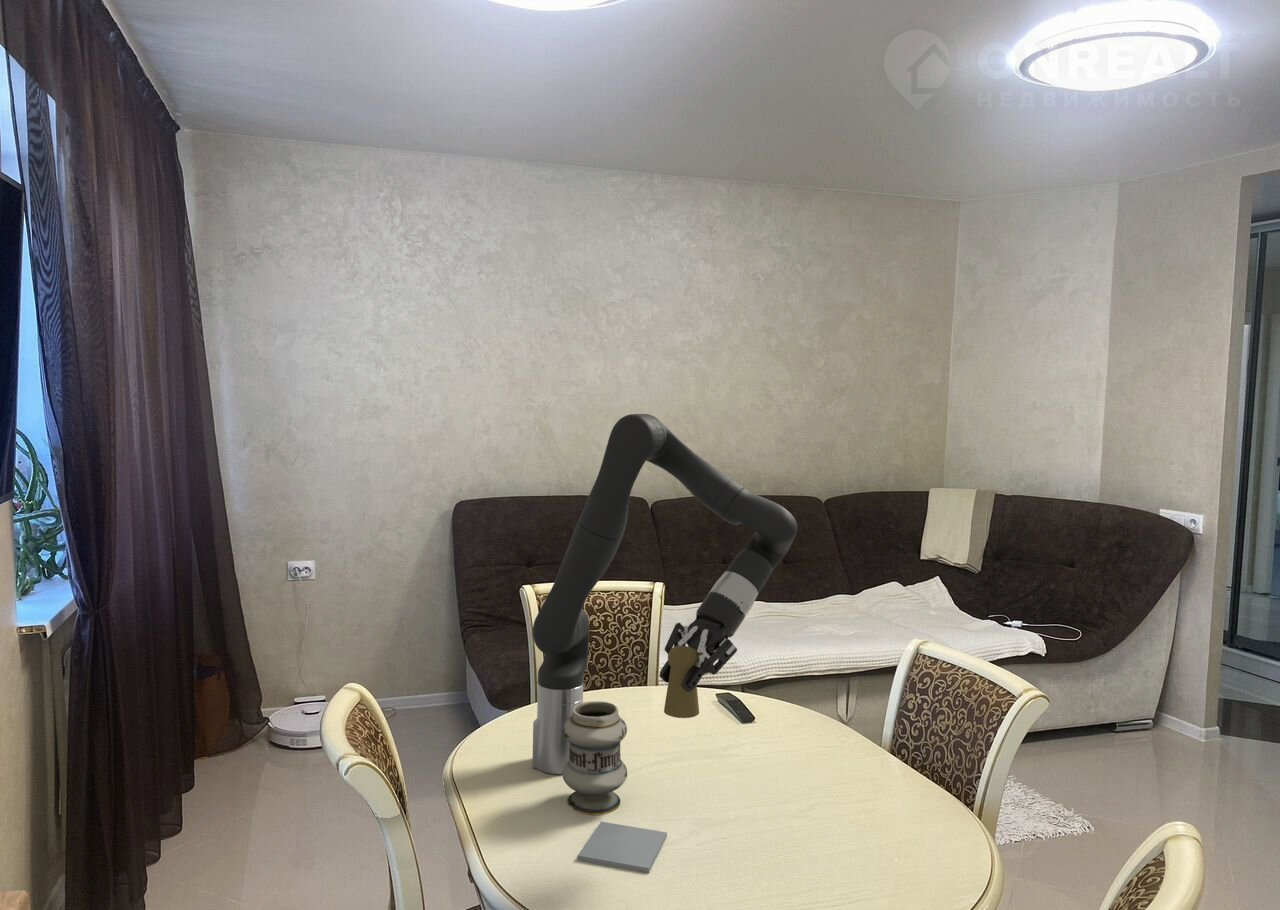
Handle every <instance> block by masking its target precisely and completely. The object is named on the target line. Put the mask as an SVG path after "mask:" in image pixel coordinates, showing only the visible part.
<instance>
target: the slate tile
mask: <svg viewBox="0 0 1280 910" xmlns="http://www.w3.org/2000/svg"><path fill="white" fill-rule="evenodd" d="M667 837H668V832H666V831H660V830H653V829H650V828H649V829H648V828H642V827H637V826H631V825H624V824H620V823H613V822H607V821H600V822H599V824H598V825H597V827H596V828H595V829H594V831H593V833H592V834H591V835H590V837H589V839H588V840H587V842H586V843H585V844H584V846H583V847H582V849H581V850H580V851H579V853H578V855H577V861H580V862H585V861H586V863H590V864H598V865H602V866H608V867H614V868H619V869H623V870H624V869H625V870H629V871H636V872H641V873H647V874H649V873H650V872H651V870H652V868H653V866H654V864H655V861H656V860H657V858H658V855H659V854H660V851H661V850H662V848H663V846H664V844H665V842H666V840H667Z"/></svg>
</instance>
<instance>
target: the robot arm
mask: <svg viewBox="0 0 1280 910" xmlns="http://www.w3.org/2000/svg"><path fill="white" fill-rule="evenodd" d="M607 440H608V441H607V444H606V447H605V451H604V454H603V459H602V462H601V466H600V468H599V472H598V474H597V477H596V480H595V481H594V484H593V486H592V488H591V489H590V493H589V495H588V498H587V500H586V501H585V502H586V503H585V505H584V507H583V509H582V512H581V514H580V516H579V518H578V521H577V523H576V526H575V528H574V531H573V533H572V535H571V539H570V541H569V544H568V546H567V548H566V551H565V553H564V557H563V559H562V562H561V564H560V567H559V570H558V573H557V575H556V577H555V580H554V583H553V585H552V587H551V589H550V590H549V593H548V595H547V596H546V598H545V600H544V602H543V604H542V606H541V608H540V609H539V611H538V613H537V615H536V617H535V618H534V621H533V625H532V639H533V641H534V642H533V643H534V644H535V646H536V647H537V649H538V650H539V651H540V652H542V653H543V654H545V656H544V660H543V661H542V663H541V665H540V666H539V668H538V671H537V704H536V705H537V708H536V709H537V710H536V719H534V721H532V723H533V724H532V762H531V763H532V764H531V765H532V768H535V769H537V770H539V771H540V772H543V773H547V774H550V775H551V774H552V775H562V771H563V768H564V765H565V764H566V763H567V761H568V760H569V741H568V740H567V739H566V737H565V735H564V732H563V727H564V724H565V723H566V721H567V720H568V719H569V718H570V717H571V716H572V712H573V708H574V707H575V706H576V705H578V704H580V703H583V702H584V676H585V673H586V670H587V666H588V659H589V645H590V644H589V642H590V623H589V618H588V615H587V613H586V611H585V609H584V608H583V607H584V606H585V603H586V600H587V599H588V596H589V595H590V593H591V592H592V590H593V589H594V588H595V586H596V585H597V583H598V582H599V580H601V578H602V576H603V575H604V574H605V572H606V571H607V569H608V567H609V566H611V565H610V564H611V563H612V561H613V559H614V557H615V555H616V553H617V551H618V549H619V546H620V544H621V542H622V539H623V537H624V534H625V531H626V529H627V528H626V527H627V523H628V515H629V503H630V496H631V492H632V489H633V487H634V485H635V482H636V480H637V478H638V476H639V474H640V471H641V470H642V469H643V466H644V464H645V463H646V462H648V463H651V464H653V465H654V466H657V467H659V468H660V469H662V470H664V471H666V472H667V473H668V474H670V475H672V476H673V477H674V478H675V479H676V480H678V481H679V482H680V483H681V484H682V485H683V486H684V487H685V488H686V489H687V490H688V491H689V492H690V494H691V495H692V496H693V497H694V498H695V499H696V500H698V501H699V502H700V503H701V504H702V505H703V506H705V507H706V508H707V509H708V510H710V511H711V512H713V513H714V514H716V515H717V516H718V517H720V518H721V519H723V520H724V521H725V522H727V523H728V524H730V525H732V526H739V525H741V524H742V525H744V526H745V527H747V528H749V529H750V530H752V531H754V532H753V534H752V536H751V538H750V539H749V540H748V543H746V545H745V547H744V548H743V549H742V550H740V552H738V553H737V554H736V556H735V557H734V558H733V559H732V561H731V563H729V566H728V567H727V568H726V570H725V571H724V573H723V574H721V576H720V577H719V578H718V580H717V581H715V583H714V585H713V586H712V588H711V590H710V591H709V592H708V593H707V595H706V596H705V598H704V599H703V601H702V602H701V604H700V606H698V608H697V609H696V616H695V619H694V621H692V622H691V623H690V624H689V625H683V624H682V623H681V622H677V623H675V625H674V627H673V628H672V632H671V633H670V635H669V638H668V639H667V643H666V645H665V647H664V651H665V653H667V655H668V653H669V651H670V649H672V648H673V647H676V646H688V647H692V648H694V649H695V650H696V651H697V655H698V656H697V660H696V662H695V667H693V666H692V668H691V669H690V671H689V672H688V674H687V675H686V677H685V678H684V680H683V681H682V683H681V686H682V687H683V688H684V689H685V690H686V691H688V692H691V690H693V689H694V688H695V687H696V685H698V684H699V682H700V681H701V679H702V677H703V676H705V675H707V674H711V675H713V676H714V675H716V674H717V673H718V672H719V671H720V670H721V669H722V668H724V666H725V664H727V663H728V661H730V660H731V659H732V657H733V656H734V655H735V654H736V653H737V651H738V648H737V647H736V646H735V644H734V643H733V642H732V641H731V640H730V639H729V638H732V637H734V635H735V633H736V632H737V630H738V629H739V628H740V625H741V624H742V623H743V621H744V620H745V618H746V617H747V615H748V613H749V612H750V610H751V609H752V607H753V606H754V604H755V601H756V599H757V597H758V595H759V594H760V593H761V591H762V590H763V588H764V586H765V585H766V583H767V581H768V580H769V578H770V576H771V574H772V572H773V571H774V570H775V569H776V567H777V566H778V565H779V564H780V563H781V561H782V560H783V559H784V558H785V556H786V554H787V553H788V552H789V550H790V548H791V546H792V544H793V542H794V539H795V538H796V535H797V533H798V532H797V531H798V523H797V521H796V518H795V517H794V516H793V515H792V513H791V512H790V511H788V510H787V509H786V508H785V507H783V506H782V505H780V504H778V503H777V502H774V501H772V500H769V499H767V498H766V497H763V496H761V495H757V494H755V493H752V492H750V490H748V489H747V488H745V487H744V486H743V485H741V484H740V483H739V482H737V481H735V480H734V479H733V478H731V477H729V476H728V475H727V474H725V473H723V472H722V471H720V470H719V469H718V468H716V467H715V466H713V465H712V464H710V463H709V462H708V461H706V460H705V459H704V458H702V457H700V456H699V455H698V454H697V453H695V451H693V450H692V449H691V448H690V447H689V446H687V445H686V444H685V443H684V442H683V441H682V440H681V439H679V437H677V436H676V434H674V433H673V432H672V431H671V429H669V428H668V427H667V426H666V425H665V424H664V423H663V422H662V421H661V420H660V419H659V418H658V417H656V416H654V415H651V414H648V413H630V414H626V415H624V416H622V417H621V418H619V419H618V420H617V421H616V422H615V424H614V426H613V427H612V429H611V432H610V434H609V437H608V439H607ZM714 663H715V664H714ZM670 669H671V666H670V665H669V663H668V659H667V661H666V662H665V663H664V665H663V666H662V668H660V671H659V674H658V675H659V678H660V679H661V680H662V681H663V682H664V683H667V684H668V682H669V675H670Z"/></svg>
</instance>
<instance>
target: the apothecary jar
mask: <svg viewBox="0 0 1280 910" xmlns="http://www.w3.org/2000/svg"><path fill="white" fill-rule="evenodd" d="M563 732H564V735H565V737H566V739H567V740H568V741H569V760H568V761H567V763H566V764H565V765H564V768H563V771H562V774H561V775H562V779H563V781H564V783H565V784H566V785H567V786H568V787H569V788H570V789H571V790H572V791H573V792H571V794H570V795H569V796H568V797H567V805H568V806H569V807H572V810H573V811H574V810H575V812H577V813H579V814H584V815H589V816H590V815H591V816H595V815H596V814H598V816H600V815H599V814H601V815H606V814H609V812H610V813H612V812H614V811H616V810H617V809H618V808H619V807H620V805H621V798H620V797H619V795H618V794H617V793H616V792H615V791H617V790H618V789H619V788H620V787H621V786H622V785H624V783H625V782H626V780H627V778H628V769H627V766H626V764H625V763H624V761H623V760H622V759H621V742H622V741H623V740H624V739H625V737H626V735H627V732H628V726H627V723H626V722H625V720H624V719H623V718H622V717H621V716H620V714H619V708H618V707H617V705H615V704H614V703H611V702H608V701H601V700H599V701H598V700H593V701H591V700H590V701H583V703H580V704H578V705H576V706H575V707H574V708H573V712H572V716H571V717H570V718H569V719H568V720H567V721H566V723H565V724H564V727H563ZM605 813H606V814H605Z"/></svg>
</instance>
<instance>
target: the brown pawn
mask: <svg viewBox="0 0 1280 910" xmlns="http://www.w3.org/2000/svg"><path fill="white" fill-rule="evenodd" d="M697 656H698V655H697V651H696V650H695V649H694V648H692V647H689V646H688V645H686V646H676V647H674V646H673V647H672V649H670V651H669V653H668V654H667V660H668V663H669V665H670V666H671V669H670V675H669V682H668V683H667V689H666V695H665V699H664V700H665V701H664V707H663V713H664V714H665V715H667V716H669V717H672V718H677V719H690V718H694V717H697V716H698V715H699V714H700V707H699V705H700V704H699V696H698V687H697V685H698V684H697V685H696V687H695V688H694V689H693V690H691V692H688V691H686V690H685V689H684V688H683V687H682V686H681V683H682V681H683V680H684V678H685V677H686V675H687V674H688V672H689V671H690V669H691V668H692V666H693V667H695V662H696V660H697Z"/></svg>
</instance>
